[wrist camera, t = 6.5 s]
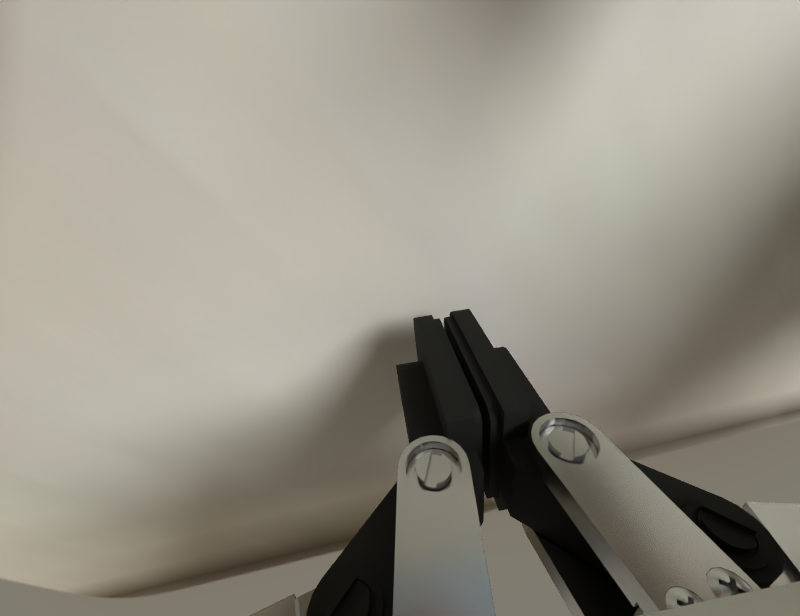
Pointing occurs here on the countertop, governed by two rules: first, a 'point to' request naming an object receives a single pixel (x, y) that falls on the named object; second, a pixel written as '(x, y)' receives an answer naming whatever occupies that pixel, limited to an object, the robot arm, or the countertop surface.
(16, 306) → the countertop surface
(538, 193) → the countertop surface
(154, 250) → the countertop surface
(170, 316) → the countertop surface
